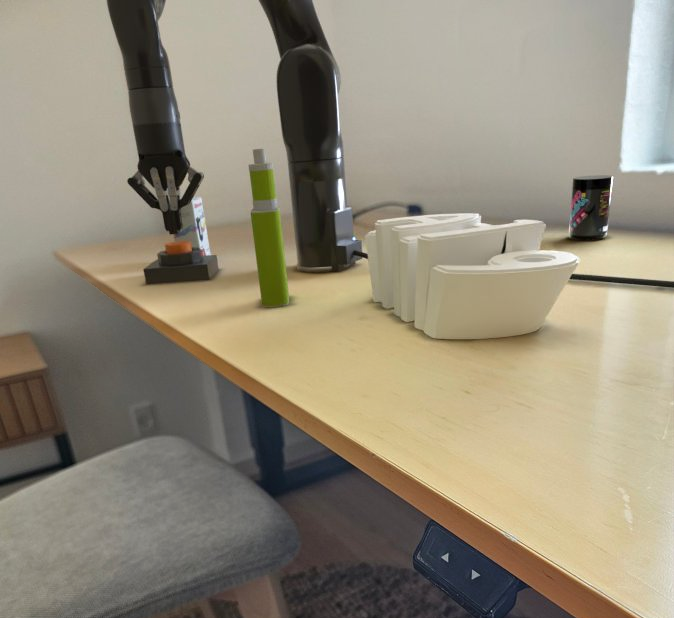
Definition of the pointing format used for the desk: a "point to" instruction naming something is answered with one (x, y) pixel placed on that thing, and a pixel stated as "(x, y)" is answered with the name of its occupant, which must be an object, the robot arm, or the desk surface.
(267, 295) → the vape
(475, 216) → the white wavy slab sculpture
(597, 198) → the supplement container
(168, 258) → the push button base
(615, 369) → the desk surface
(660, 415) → the desk surface
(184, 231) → the ink box
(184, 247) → the power button
